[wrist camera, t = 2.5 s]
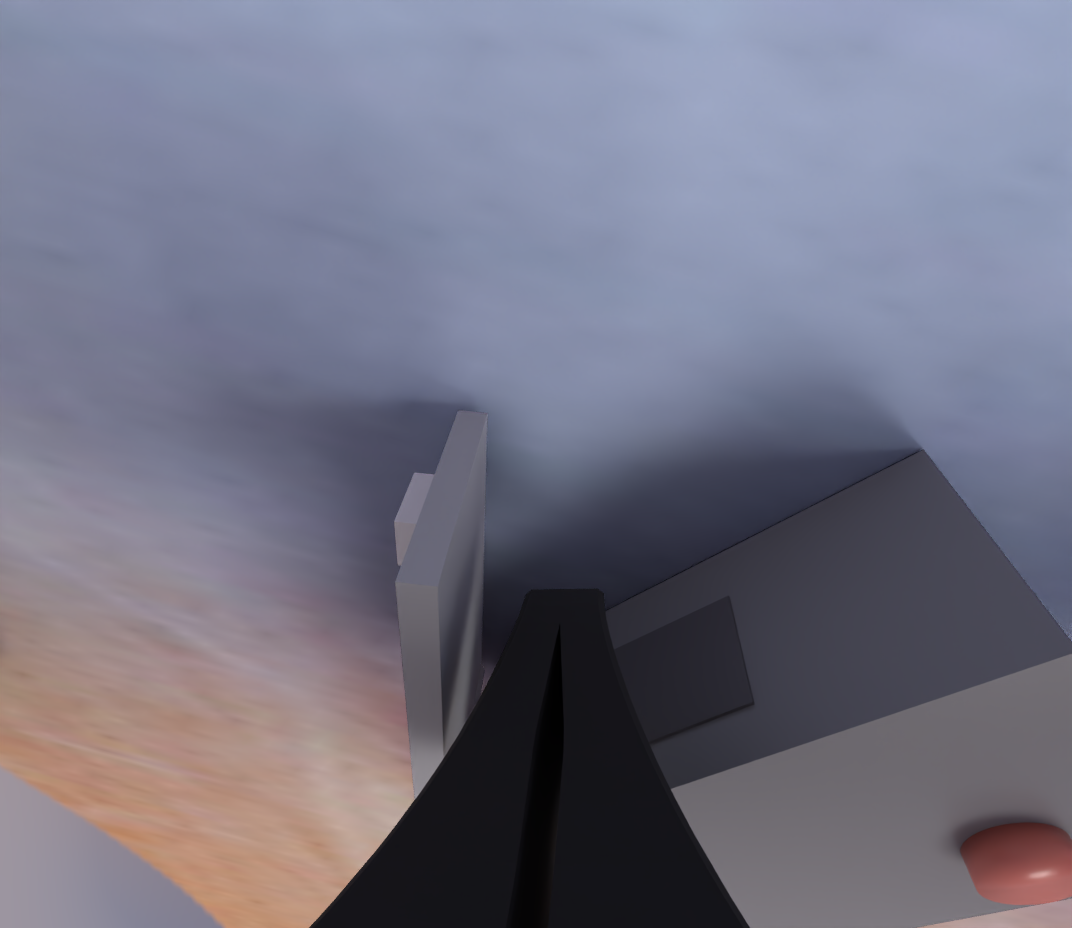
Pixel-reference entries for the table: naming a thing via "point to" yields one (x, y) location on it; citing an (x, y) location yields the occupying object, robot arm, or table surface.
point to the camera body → (862, 713)
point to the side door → (442, 593)
